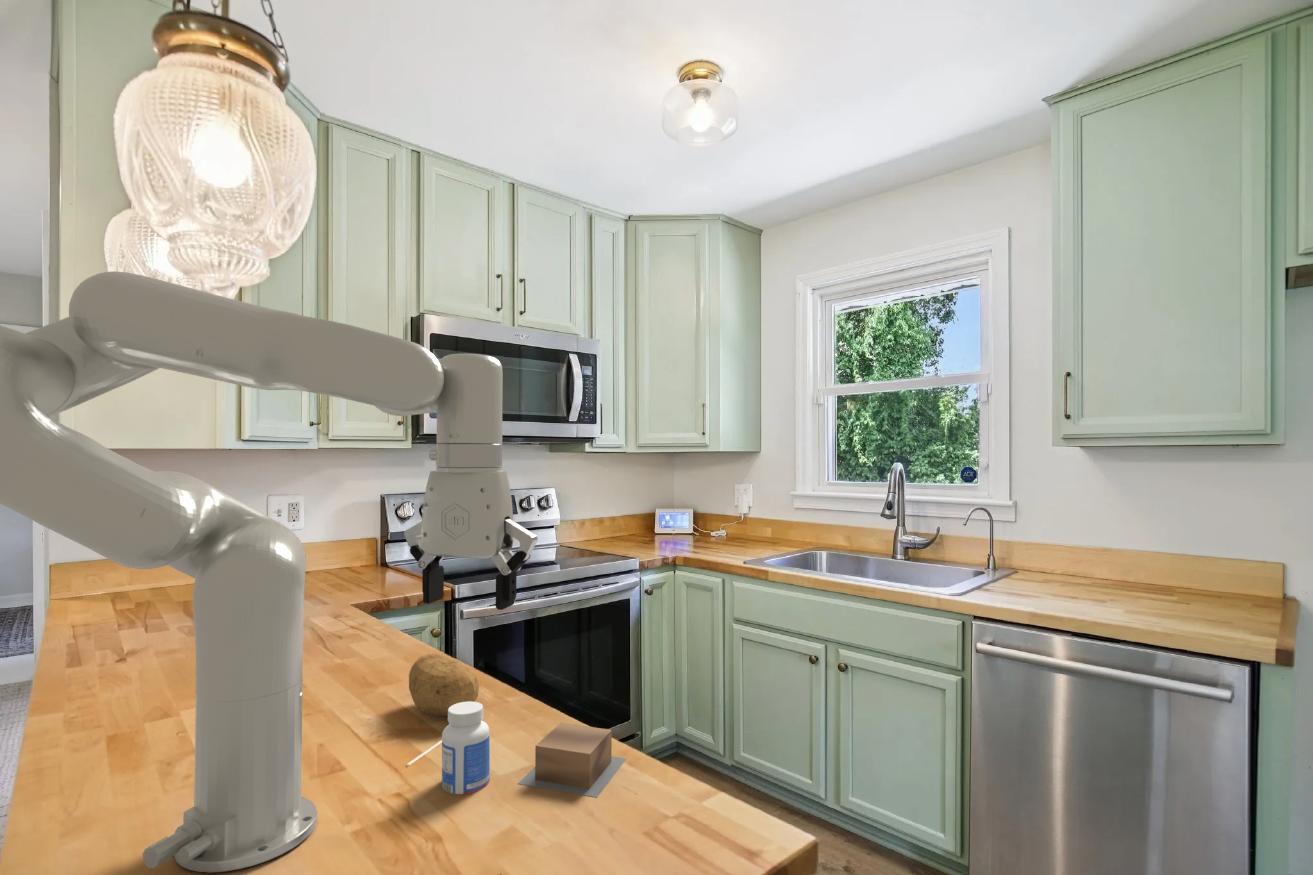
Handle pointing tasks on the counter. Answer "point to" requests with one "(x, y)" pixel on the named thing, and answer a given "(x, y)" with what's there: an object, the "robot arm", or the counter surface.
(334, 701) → the counter surface
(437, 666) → the potato
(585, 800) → the counter surface
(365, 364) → the robot arm
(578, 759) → the brown square block
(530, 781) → the baseplate
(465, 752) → the pill bottle
